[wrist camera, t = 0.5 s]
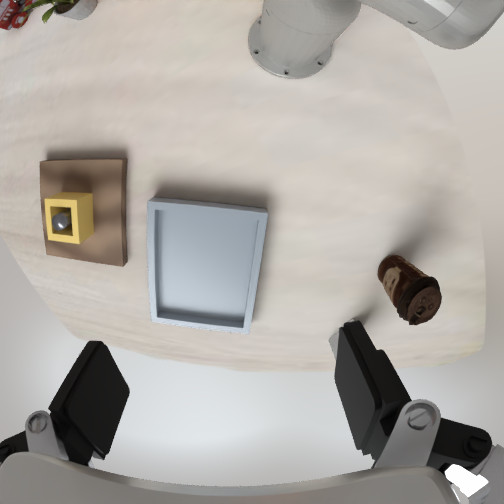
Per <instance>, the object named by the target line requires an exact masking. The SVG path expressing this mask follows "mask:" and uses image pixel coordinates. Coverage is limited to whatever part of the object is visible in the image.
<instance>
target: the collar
mask: <svg viewBox="0 0 504 504" xmlns="http://www.w3.org/2000/svg"><path fill="white" fill-rule="evenodd" d="M67 207H71V216H72V225H69V226H68V227H66V228H64V229H63V230H61V231H57V230H55V229H54V227H53V225H52V218H53V216H55V215H56V214H58V213H60V212H62V211H64V210H66V209H67ZM45 213H46V224H47V233H48V240H53V241H60V242H67V243H75V244H81V243H82V242H83V241H85V240H86V239H87V238H89V237H90V236H91V235H93V234H94V224H93V193H77V192H60V193H57V194H55V195H52V196H50V197H47V198H45Z"/></svg>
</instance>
